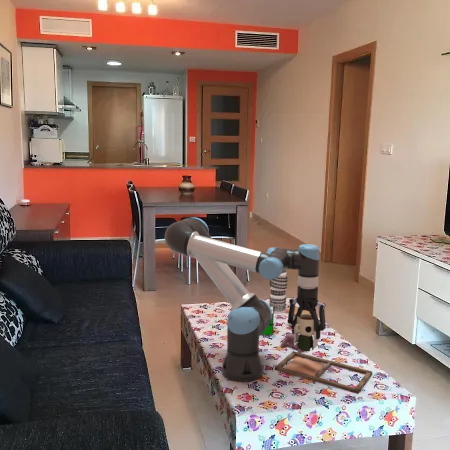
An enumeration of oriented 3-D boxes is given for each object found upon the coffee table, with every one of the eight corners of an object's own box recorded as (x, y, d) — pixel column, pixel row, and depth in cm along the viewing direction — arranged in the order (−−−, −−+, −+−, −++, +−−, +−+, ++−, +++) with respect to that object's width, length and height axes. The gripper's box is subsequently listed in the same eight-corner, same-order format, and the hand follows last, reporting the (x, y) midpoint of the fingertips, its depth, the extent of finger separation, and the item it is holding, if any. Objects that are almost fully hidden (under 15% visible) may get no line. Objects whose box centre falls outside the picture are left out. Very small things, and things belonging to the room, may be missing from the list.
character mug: (301, 356, 181) (302, 322, 179) (288, 349, 187) (289, 316, 184) (322, 349, 187) (323, 316, 185) (309, 342, 193) (310, 311, 191)
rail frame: (358, 393, 169) (358, 390, 169) (274, 369, 185) (274, 367, 185) (372, 374, 183) (372, 371, 183) (293, 353, 200) (293, 351, 199)
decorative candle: (266, 307, 254) (268, 260, 249) (284, 307, 255) (285, 260, 250) (270, 313, 245) (271, 265, 240) (288, 313, 246) (290, 264, 241)
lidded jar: (308, 322, 234) (309, 303, 233) (312, 330, 224) (313, 311, 222) (285, 322, 234) (286, 303, 232) (289, 330, 223) (290, 311, 222)
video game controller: (304, 354, 202) (309, 338, 204) (299, 353, 199) (304, 336, 200) (284, 347, 209) (289, 331, 210) (279, 346, 205) (284, 330, 207)
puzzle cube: (273, 327, 228) (273, 306, 226) (273, 335, 218) (273, 314, 216) (251, 326, 229) (252, 305, 227) (250, 334, 219) (250, 313, 217)
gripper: (337, 288, 180) (334, 346, 184) (287, 279, 191) (285, 335, 195) (330, 293, 174) (327, 354, 178) (278, 284, 185) (277, 341, 189)
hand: (305, 344), depth 186 cm, fingers closed on character mug, 7 cm apart
